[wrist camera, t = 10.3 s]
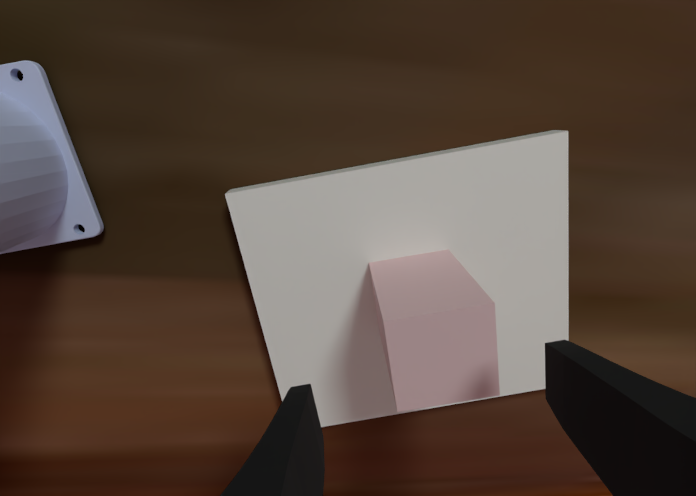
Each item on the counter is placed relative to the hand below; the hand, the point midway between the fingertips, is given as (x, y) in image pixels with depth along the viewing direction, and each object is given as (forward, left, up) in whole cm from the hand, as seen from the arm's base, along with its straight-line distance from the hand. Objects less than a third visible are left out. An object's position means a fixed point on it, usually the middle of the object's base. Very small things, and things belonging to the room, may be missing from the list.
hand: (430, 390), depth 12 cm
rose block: (+1, -1, -9) cm, 9 cm away
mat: (+1, -1, -10) cm, 10 cm away
